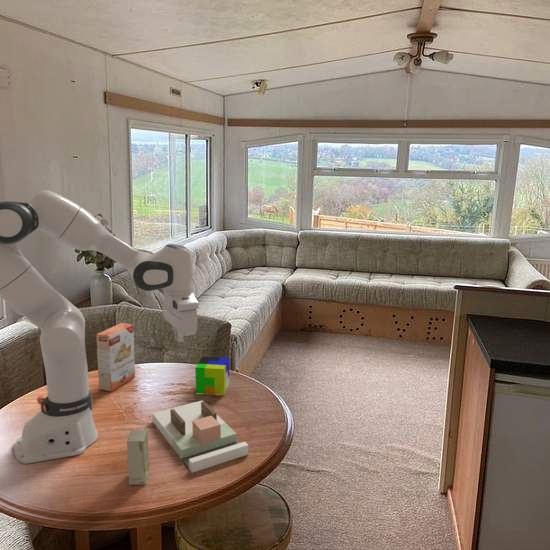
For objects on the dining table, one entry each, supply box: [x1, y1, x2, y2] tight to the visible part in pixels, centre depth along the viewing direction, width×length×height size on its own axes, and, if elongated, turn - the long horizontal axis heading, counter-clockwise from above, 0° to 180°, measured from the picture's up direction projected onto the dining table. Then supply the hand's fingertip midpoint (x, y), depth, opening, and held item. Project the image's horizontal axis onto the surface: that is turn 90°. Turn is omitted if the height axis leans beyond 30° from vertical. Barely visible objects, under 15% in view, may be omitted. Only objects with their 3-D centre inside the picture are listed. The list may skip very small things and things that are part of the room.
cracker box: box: [96, 322, 136, 393], centre depth 188 cm, size 14×6×21 cm, turn 159°
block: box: [192, 416, 221, 445], centre depth 149 cm, size 6×6×4 cm
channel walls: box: [170, 400, 218, 435], centre depth 156 cm, size 11×9×4 cm
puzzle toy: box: [194, 356, 230, 395], centre depth 186 cm, size 10×10×10 cm
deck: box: [151, 400, 249, 474], centre depth 155 cm, size 17×31×3 cm, turn 32°
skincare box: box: [126, 429, 150, 486], centre depth 134 cm, size 6×4×12 cm
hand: (179, 340), depth 162 cm, fingers closed
